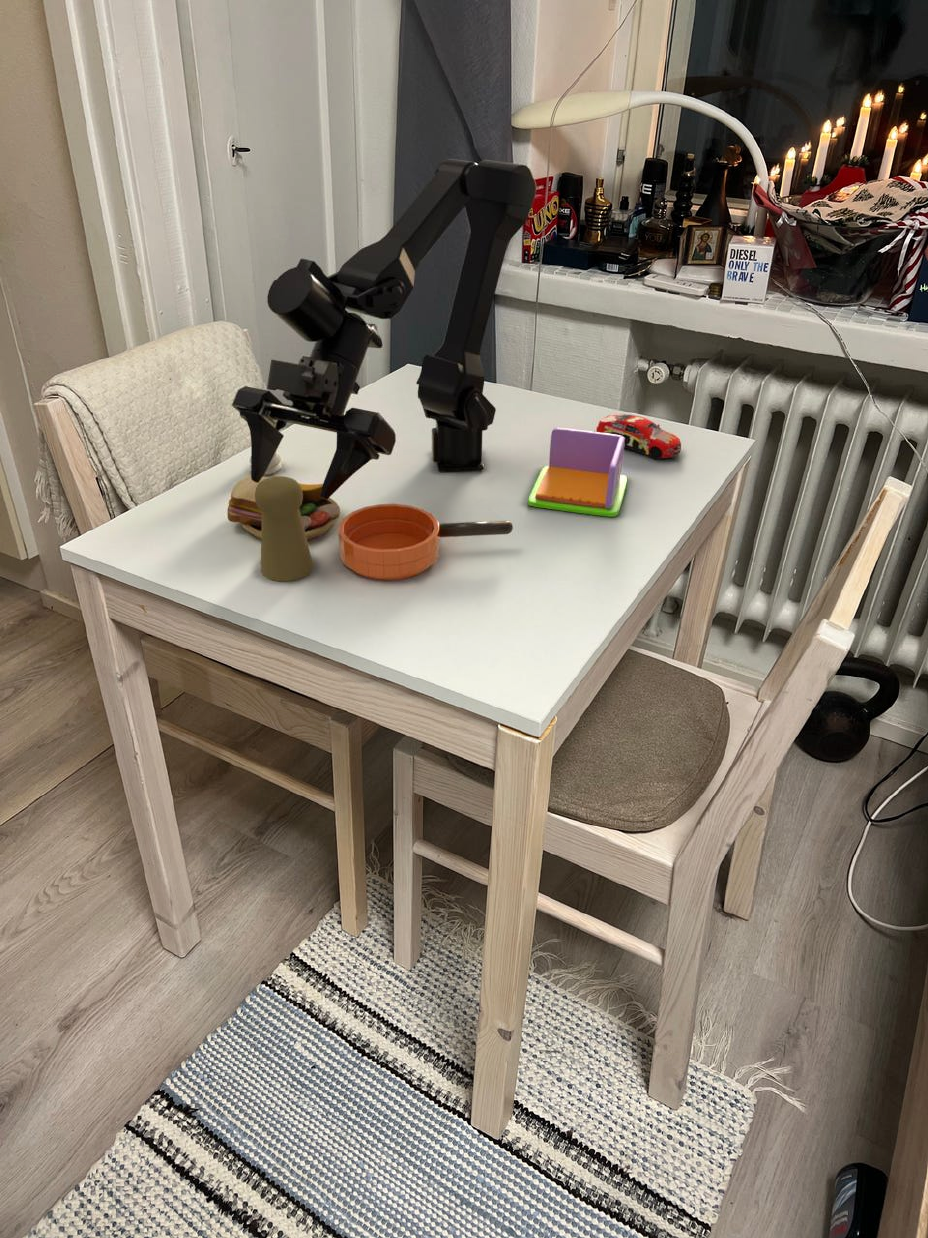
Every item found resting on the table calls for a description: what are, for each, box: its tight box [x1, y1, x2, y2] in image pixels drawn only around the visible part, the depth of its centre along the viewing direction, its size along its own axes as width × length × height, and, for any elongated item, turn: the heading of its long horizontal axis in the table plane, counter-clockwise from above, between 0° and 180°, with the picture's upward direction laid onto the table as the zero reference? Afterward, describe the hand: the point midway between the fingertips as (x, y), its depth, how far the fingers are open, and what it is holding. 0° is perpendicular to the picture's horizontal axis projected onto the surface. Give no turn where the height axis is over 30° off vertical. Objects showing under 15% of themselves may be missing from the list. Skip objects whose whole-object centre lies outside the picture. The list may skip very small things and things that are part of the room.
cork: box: [255, 475, 314, 583], centre depth 103 cm, size 6×6×11 cm
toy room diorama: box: [527, 427, 628, 518], centre depth 121 cm, size 12×12×7 cm
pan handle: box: [432, 520, 514, 538], centre depth 108 cm, size 10×2×2 cm, turn 97°
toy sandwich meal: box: [226, 475, 341, 540], centre depth 114 cm, size 12×14×5 cm
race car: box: [595, 413, 682, 461], centre depth 135 cm, size 13×5×4 cm, turn 50°
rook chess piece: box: [249, 450, 283, 476], centre depth 126 cm, size 4×4×8 cm
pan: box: [338, 503, 440, 581], centre depth 108 cm, size 12×12×4 cm
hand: (288, 489), depth 103 cm, fingers open, 9 cm apart
